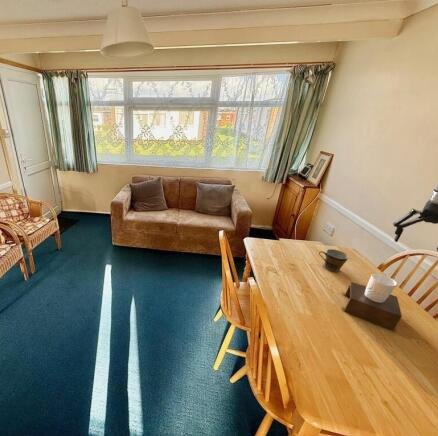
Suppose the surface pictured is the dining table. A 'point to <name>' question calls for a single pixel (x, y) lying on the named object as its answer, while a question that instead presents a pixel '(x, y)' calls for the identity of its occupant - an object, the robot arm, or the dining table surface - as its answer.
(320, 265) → the dining table surface
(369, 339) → the dining table surface
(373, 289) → the white cup
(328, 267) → the ceramic cup
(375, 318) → the dark brown wooden box
